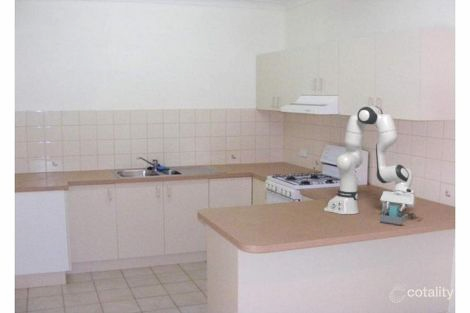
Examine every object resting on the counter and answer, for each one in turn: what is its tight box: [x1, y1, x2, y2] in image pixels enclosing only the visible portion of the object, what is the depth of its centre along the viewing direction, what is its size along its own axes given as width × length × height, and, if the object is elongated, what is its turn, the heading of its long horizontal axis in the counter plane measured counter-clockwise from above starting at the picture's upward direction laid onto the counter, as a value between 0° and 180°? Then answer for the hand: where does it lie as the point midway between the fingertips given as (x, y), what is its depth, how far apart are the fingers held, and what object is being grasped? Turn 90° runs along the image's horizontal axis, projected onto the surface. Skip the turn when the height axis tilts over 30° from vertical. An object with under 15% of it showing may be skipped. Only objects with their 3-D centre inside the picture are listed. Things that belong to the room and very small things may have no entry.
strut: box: [389, 206, 400, 217], centre depth 317 cm, size 4×4×9 cm
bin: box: [379, 211, 409, 227], centre depth 318 cm, size 13×13×5 cm
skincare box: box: [381, 203, 397, 214], centre depth 340 cm, size 8×6×15 cm
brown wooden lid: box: [407, 212, 425, 222], centre depth 324 cm, size 12×12×5 cm
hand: (394, 210), depth 317 cm, fingers open, 6 cm apart
